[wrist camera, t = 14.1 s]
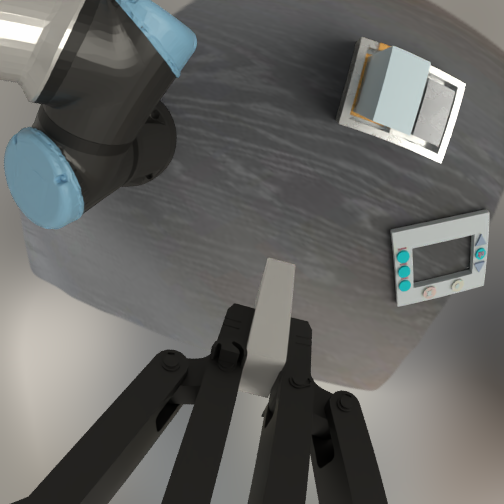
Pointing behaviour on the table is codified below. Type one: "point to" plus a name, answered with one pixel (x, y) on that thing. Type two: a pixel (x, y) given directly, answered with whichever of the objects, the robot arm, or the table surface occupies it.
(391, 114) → the block
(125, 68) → the robot arm
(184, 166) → the table surface
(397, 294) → the electronic device
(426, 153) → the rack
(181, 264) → the table surface
